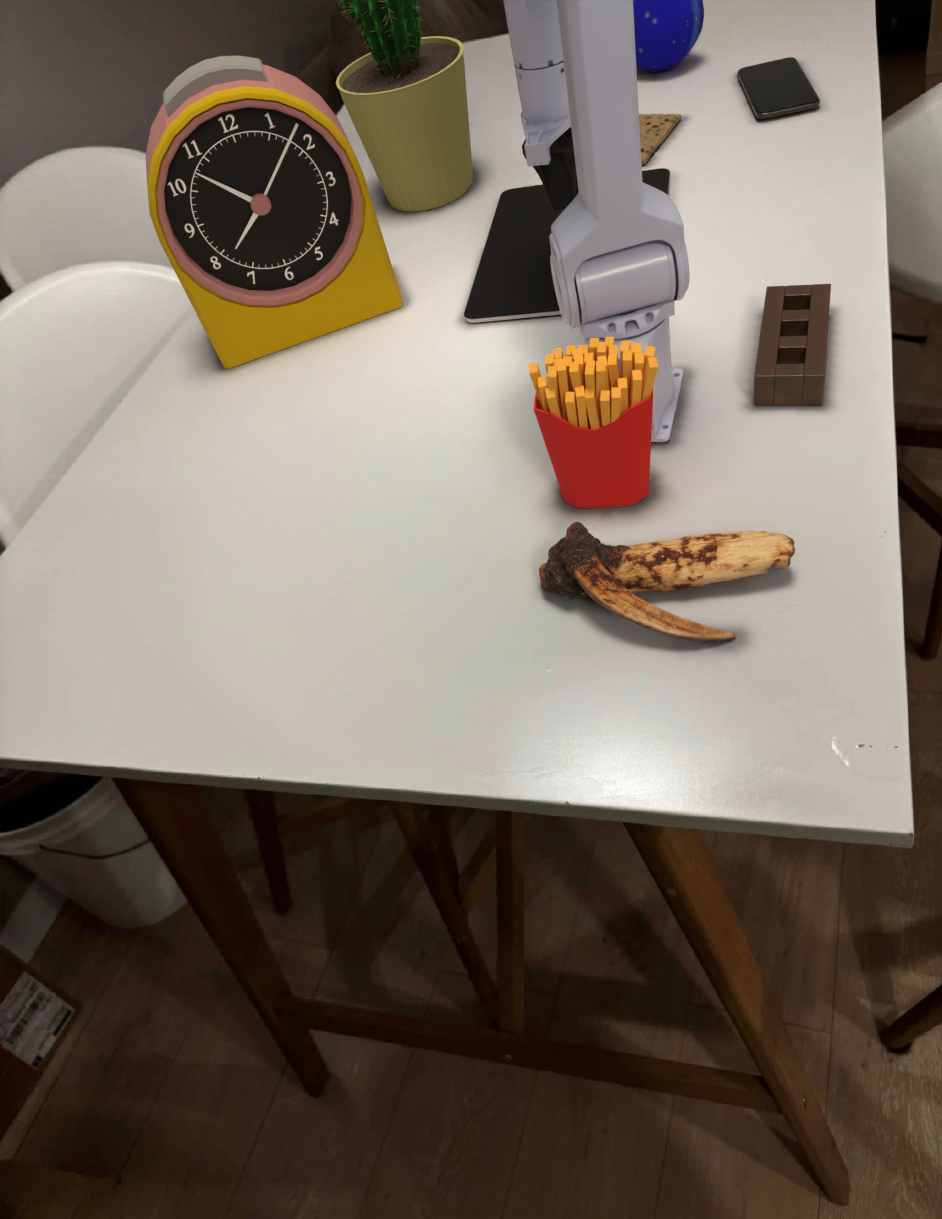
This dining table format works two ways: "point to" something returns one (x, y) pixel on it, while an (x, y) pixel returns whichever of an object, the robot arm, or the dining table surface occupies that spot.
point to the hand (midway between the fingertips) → (566, 202)
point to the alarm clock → (263, 209)
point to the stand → (793, 345)
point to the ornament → (665, 31)
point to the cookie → (654, 131)
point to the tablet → (524, 256)
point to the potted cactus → (409, 105)
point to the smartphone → (777, 88)
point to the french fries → (598, 420)
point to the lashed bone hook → (658, 572)
